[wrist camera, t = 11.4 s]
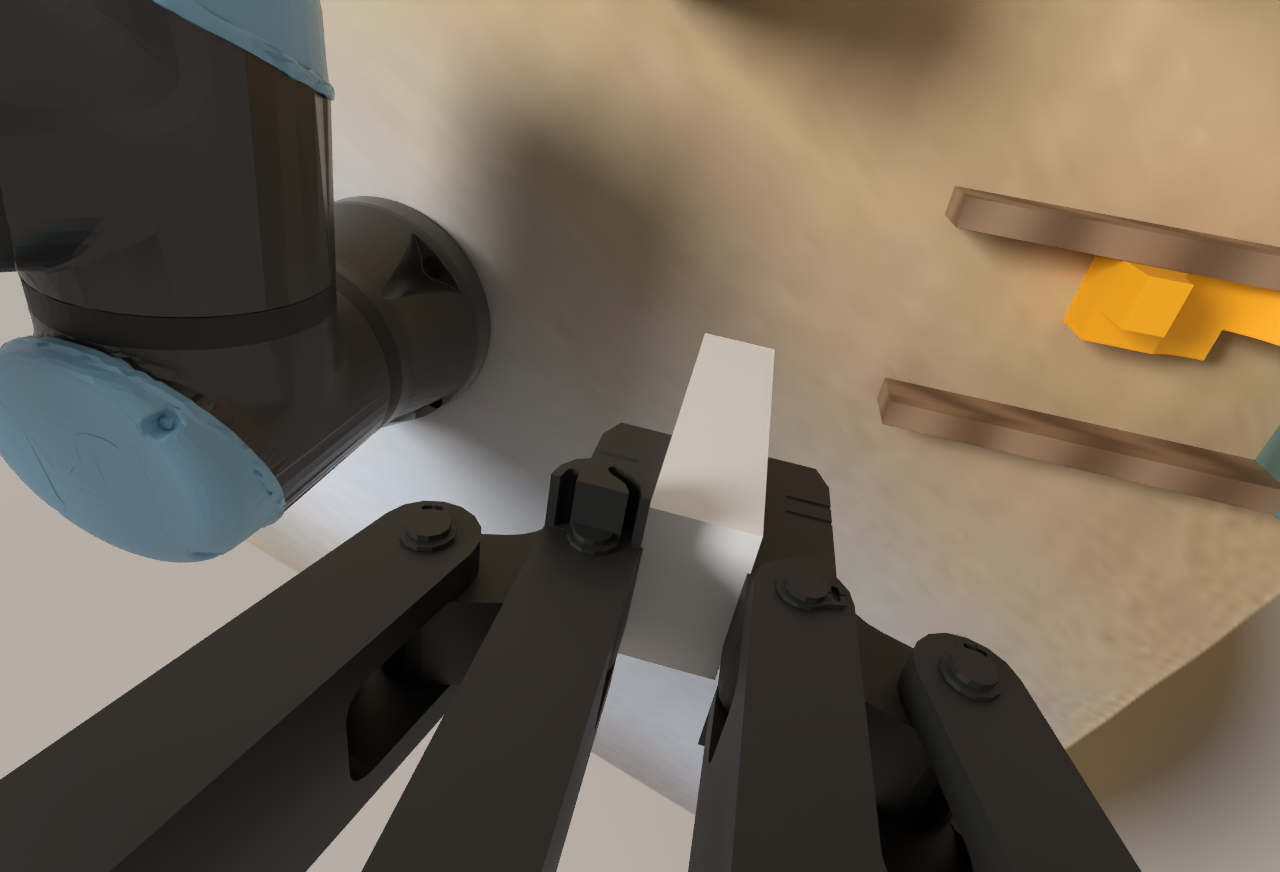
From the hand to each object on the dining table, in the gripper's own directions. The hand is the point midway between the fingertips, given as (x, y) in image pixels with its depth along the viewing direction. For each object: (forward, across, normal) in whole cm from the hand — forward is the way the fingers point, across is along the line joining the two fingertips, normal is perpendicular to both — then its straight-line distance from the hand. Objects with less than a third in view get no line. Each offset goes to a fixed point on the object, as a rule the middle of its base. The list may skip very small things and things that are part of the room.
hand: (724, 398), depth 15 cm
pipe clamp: (+28, +24, -1) cm, 37 cm away
